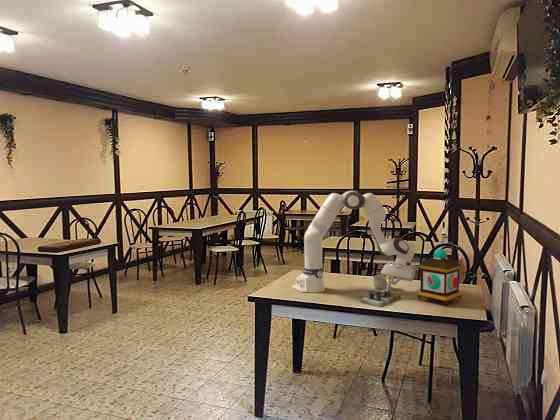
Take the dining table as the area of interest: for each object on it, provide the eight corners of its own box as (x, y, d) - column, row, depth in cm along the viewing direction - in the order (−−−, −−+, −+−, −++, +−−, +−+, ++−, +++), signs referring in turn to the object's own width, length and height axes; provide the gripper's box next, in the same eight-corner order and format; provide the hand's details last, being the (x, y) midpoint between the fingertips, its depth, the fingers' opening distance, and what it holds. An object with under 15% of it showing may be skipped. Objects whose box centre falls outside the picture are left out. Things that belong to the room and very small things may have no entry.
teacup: (391, 291, 262) (391, 279, 262) (373, 291, 264) (373, 278, 264) (389, 286, 276) (390, 274, 275) (372, 285, 278) (372, 273, 278)
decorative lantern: (464, 301, 241) (466, 248, 239) (447, 308, 228) (448, 252, 226) (431, 294, 256) (432, 244, 254) (413, 300, 243) (414, 248, 241)
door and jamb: (382, 294, 257) (382, 283, 257) (401, 298, 249) (401, 287, 248) (360, 302, 240) (360, 291, 239) (379, 307, 231) (379, 295, 231)
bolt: (387, 291, 252) (387, 274, 252) (392, 292, 250) (392, 275, 249) (378, 294, 245) (378, 277, 244) (383, 295, 243) (383, 278, 242)
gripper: (384, 259, 266) (375, 278, 259) (415, 264, 252) (407, 283, 245) (387, 265, 269) (379, 284, 263) (418, 270, 255) (410, 289, 249)
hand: (393, 284), depth 254 cm, fingers closed
